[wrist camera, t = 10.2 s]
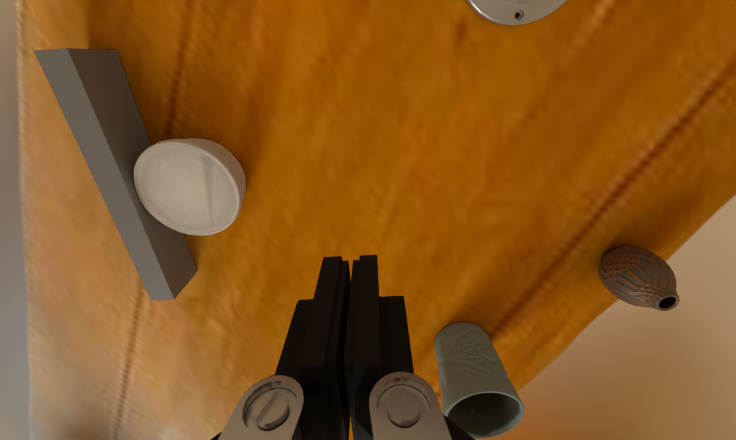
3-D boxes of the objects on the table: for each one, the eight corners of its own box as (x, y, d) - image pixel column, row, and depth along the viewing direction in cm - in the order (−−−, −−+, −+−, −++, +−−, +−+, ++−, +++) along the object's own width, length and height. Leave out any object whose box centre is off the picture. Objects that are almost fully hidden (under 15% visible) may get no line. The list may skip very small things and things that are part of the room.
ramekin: (272, 196, 41) (259, 215, 36) (201, 229, 43) (180, 250, 38) (217, 113, 36) (194, 121, 31) (142, 154, 38) (109, 167, 34)
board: (88, 51, 33) (34, 50, 28) (116, 49, 33) (67, 48, 28) (176, 272, 46) (151, 300, 41) (197, 271, 46) (174, 299, 40)
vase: (611, 287, 46) (660, 334, 38) (578, 265, 45) (622, 310, 37) (654, 253, 44) (715, 296, 36) (620, 229, 42) (677, 268, 34)
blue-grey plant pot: (485, 311, 49) (517, 383, 38) (499, 355, 53) (531, 430, 42) (421, 329, 50) (434, 403, 40) (439, 370, 55) (456, 446, 44)
